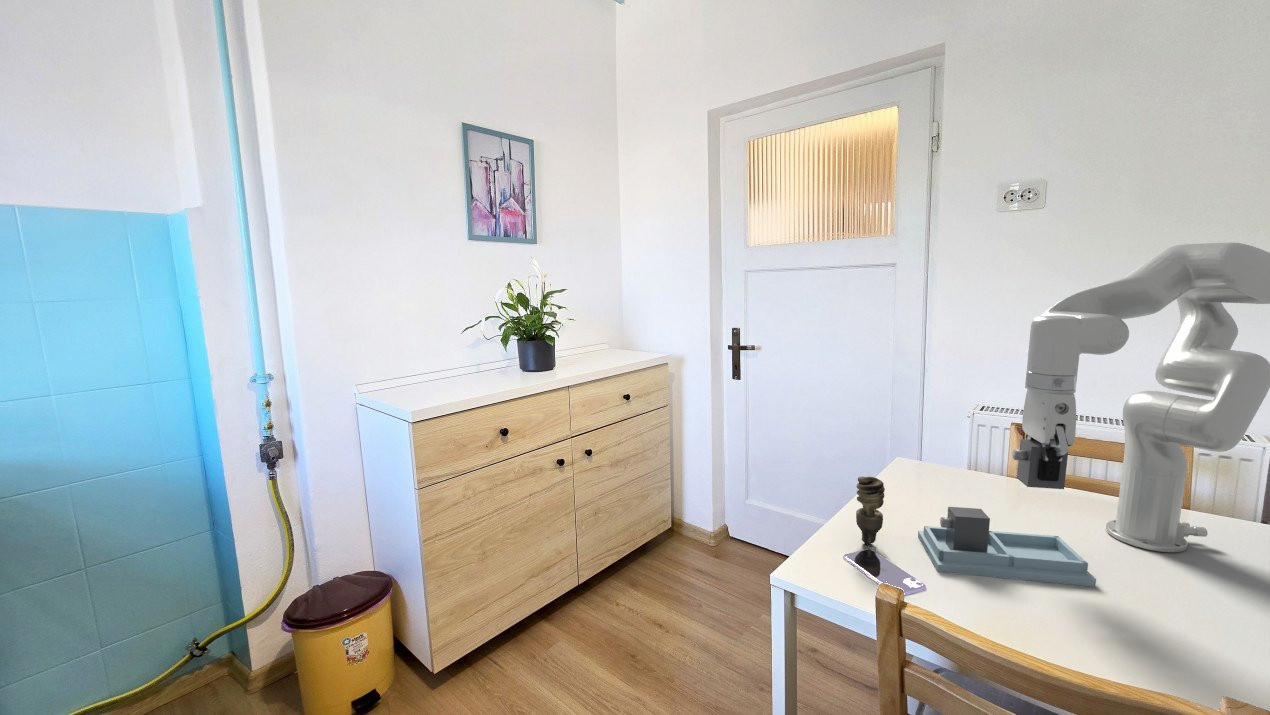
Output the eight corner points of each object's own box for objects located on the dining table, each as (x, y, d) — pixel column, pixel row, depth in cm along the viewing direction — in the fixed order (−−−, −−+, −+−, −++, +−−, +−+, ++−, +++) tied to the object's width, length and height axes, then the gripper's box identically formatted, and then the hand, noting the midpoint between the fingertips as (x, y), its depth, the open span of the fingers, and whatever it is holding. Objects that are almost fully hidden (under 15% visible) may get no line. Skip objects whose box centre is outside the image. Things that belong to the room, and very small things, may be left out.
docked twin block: (978, 545, 110) (981, 508, 109) (986, 557, 106) (989, 518, 105) (936, 542, 112) (939, 506, 111) (943, 553, 108) (946, 515, 107)
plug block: (1051, 480, 105) (1055, 440, 104) (1064, 489, 101) (1068, 448, 100) (1007, 477, 107) (1010, 438, 106) (1017, 486, 103) (1021, 445, 101)
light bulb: (849, 538, 118) (851, 472, 115) (873, 536, 118) (876, 471, 116) (862, 551, 112) (865, 482, 110) (887, 549, 113) (890, 481, 110)
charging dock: (1055, 548, 111) (1057, 532, 111) (1095, 586, 98) (1097, 568, 97) (917, 537, 117) (918, 522, 117) (937, 571, 104) (938, 554, 103)
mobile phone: (870, 547, 113) (929, 585, 99) (870, 551, 113) (929, 590, 99) (840, 553, 110) (896, 594, 96) (840, 558, 111) (896, 599, 96)
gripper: (1101, 392, 92) (1089, 494, 95) (1050, 374, 108) (1041, 461, 111) (1050, 391, 93) (1040, 491, 96) (1008, 373, 110) (1000, 459, 112)
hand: (1041, 474), depth 103 cm, fingers closed on plug block, 4 cm apart
